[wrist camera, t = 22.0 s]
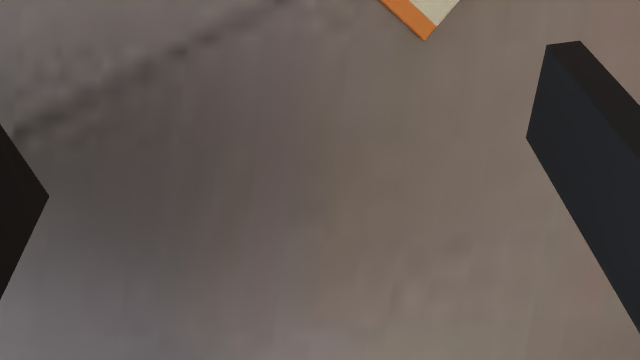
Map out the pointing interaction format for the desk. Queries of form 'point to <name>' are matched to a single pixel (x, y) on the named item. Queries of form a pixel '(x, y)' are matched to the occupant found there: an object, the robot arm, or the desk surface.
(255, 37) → the desk surface
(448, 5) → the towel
